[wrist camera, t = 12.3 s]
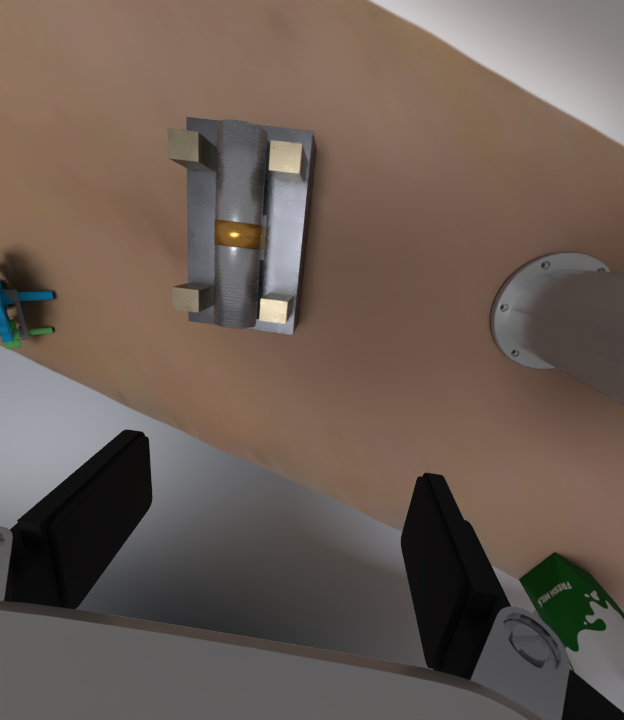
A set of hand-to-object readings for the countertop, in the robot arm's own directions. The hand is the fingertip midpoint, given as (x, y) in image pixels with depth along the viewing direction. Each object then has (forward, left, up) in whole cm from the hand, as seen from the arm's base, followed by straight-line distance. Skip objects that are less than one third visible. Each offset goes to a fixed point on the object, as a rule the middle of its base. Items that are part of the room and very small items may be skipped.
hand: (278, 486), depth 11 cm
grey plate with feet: (+8, -8, -28) cm, 30 cm away
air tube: (+8, -8, -21) cm, 24 cm away
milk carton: (-39, +34, -28) cm, 59 cm away
